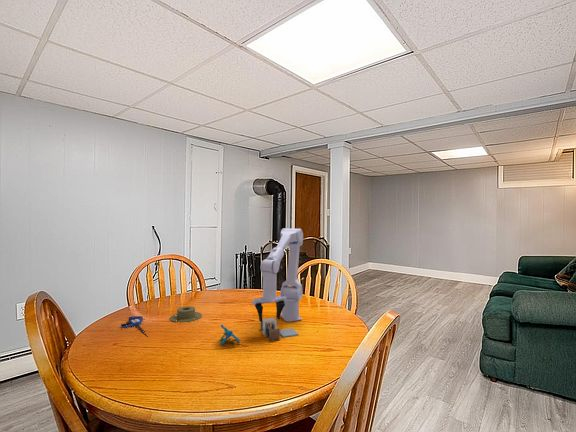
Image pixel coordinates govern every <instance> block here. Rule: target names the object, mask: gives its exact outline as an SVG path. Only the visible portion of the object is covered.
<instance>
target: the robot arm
mask: <svg viewBox="0 0 576 432" xmlns="http://www.w3.org/2000/svg"><path fill="white" fill-rule="evenodd" d="M303 242H304V232H303V229H301V228H287V227H286V228H284V227H283V228H282V229H281V230H280V239H279V241H278V243H277V246H275V247H272V249H271V251H270V253H269V254H268V256H267V257H266V258H265V259H263V260H262V261H261V262H260V267H259V268H260V272H261V277H262V297H258V298H253V299H252V303H251V304H252V305H253V306H254V307H255V309H256V312H257V315H258V320H259V322H262V320H263V310H264V306H263V304H264V305H265V304H271V303H275V306H276V316H275V317H276V320H277V321H278V320H279V321H280V319H281V318H282V319H283V320H284V321H285V322H286V323H287V322H295V321H302V320H303V318H302V317H300V301H301V300H302V298H303V294H304V293H303V283H302V284H301V282H300V281H299V279H298V275H299V273H298V272H299V262H300V260H299V259H300V249H301V248H300V247H301V246H303ZM287 247H289V253H288V265H287V266H288V267H287V276H286V280H284V281H283V282H282V284H281V288H280V292H279V293H280V294H279V295H278V296H277V273H279V270H280V266H281V261H282V259H283V257H284V255H285V252H284V251H285V250H286V248H287Z"/></svg>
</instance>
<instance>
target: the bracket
mask: <svg viewBox="0 0 576 432" xmlns="http://www.w3.org/2000/svg"><path fill="white" fill-rule="evenodd" d="M262 320H263V330H262V335H264V337H265V338H266V337H267V338H269V335H268V324H270V325H271V327H272V329H278V324H277V323H278V322H277V321H278V319H277V318H275V317H268V318H267V317H266V318H262Z"/></svg>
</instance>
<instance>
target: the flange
mask: <svg viewBox="0 0 576 432" xmlns="http://www.w3.org/2000/svg"><path fill="white" fill-rule="evenodd" d="M175 315H177V316H175ZM202 317H203V314H202V313H201V312H197V311H196V306H195V307H194V306H193V305H192V306H190V305H187V306H182V307H181V306H180V307H179V308H177V309H176V313H175V314H172V315H171V316H169V321H170V320H171V322H172V321H174V322H173V323H176V322H187V323H192V322H191V321H193V322H196V321H198V319H199V320H201V318H202ZM194 318H195V319H194ZM176 320H178V321H176ZM195 320H196V321H195Z"/></svg>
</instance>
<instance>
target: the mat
mask: <svg viewBox="0 0 576 432" xmlns="http://www.w3.org/2000/svg"><path fill="white" fill-rule="evenodd" d="M279 330H280V337H282V339H283V338H284V339H285V338H292V337H296V336H299V333H298V332H297V331H296V330H295V329H294V328H292V327H291V328H285V329H279Z"/></svg>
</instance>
